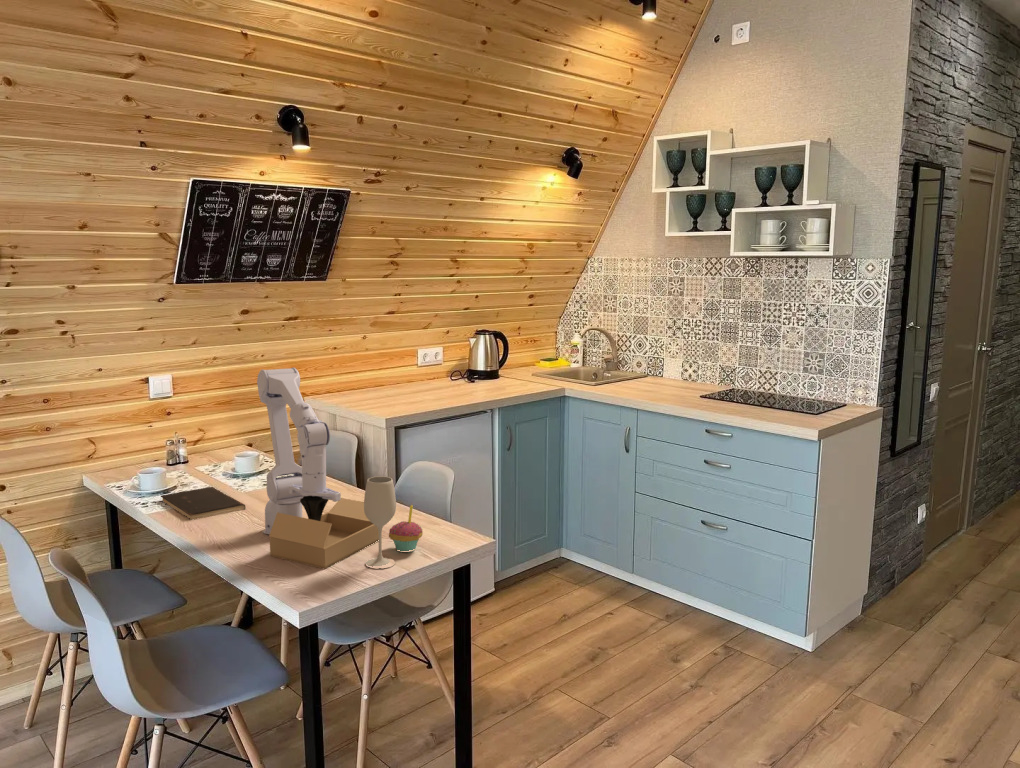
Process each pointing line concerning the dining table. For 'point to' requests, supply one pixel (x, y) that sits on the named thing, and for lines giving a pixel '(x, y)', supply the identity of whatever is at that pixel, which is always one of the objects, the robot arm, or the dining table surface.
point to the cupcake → (405, 534)
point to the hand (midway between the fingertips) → (315, 525)
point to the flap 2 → (349, 508)
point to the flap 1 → (300, 530)
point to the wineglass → (379, 509)
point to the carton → (329, 542)
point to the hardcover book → (202, 502)
